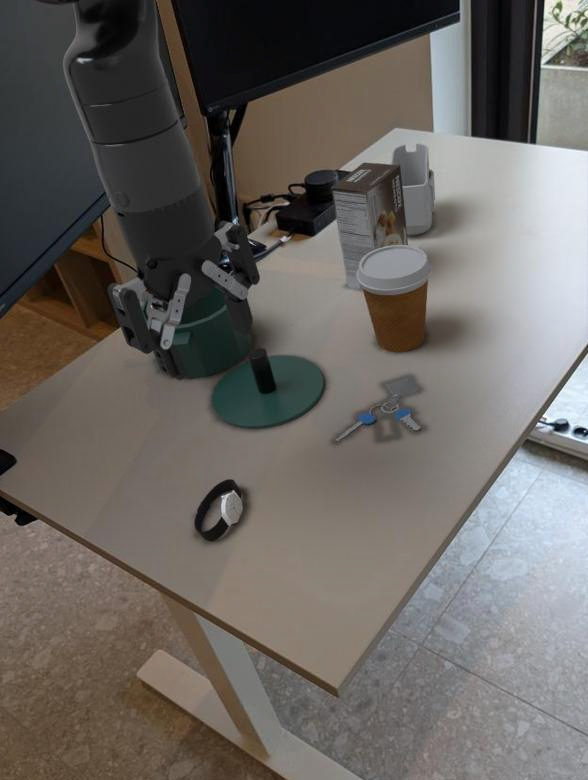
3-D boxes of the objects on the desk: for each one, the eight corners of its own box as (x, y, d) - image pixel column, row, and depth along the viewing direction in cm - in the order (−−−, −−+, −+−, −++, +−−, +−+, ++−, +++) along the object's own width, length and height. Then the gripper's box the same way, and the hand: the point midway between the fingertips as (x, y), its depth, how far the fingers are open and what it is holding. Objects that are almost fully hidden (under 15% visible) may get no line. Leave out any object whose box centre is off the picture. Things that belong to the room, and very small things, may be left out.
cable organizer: (396, 246, 113) (388, 173, 105) (399, 213, 122) (393, 143, 113) (436, 243, 112) (432, 168, 104) (437, 210, 121) (433, 139, 112)
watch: (230, 547, 71) (220, 524, 68) (189, 543, 72) (178, 521, 70) (253, 493, 76) (245, 470, 74) (214, 491, 77) (205, 468, 75)
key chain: (396, 377, 88) (395, 371, 87) (453, 393, 84) (452, 387, 83) (334, 443, 80) (333, 438, 80) (394, 464, 76) (393, 459, 76)
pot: (148, 399, 92) (124, 346, 86) (170, 323, 105) (151, 273, 99) (246, 386, 91) (229, 332, 85) (256, 311, 104) (242, 260, 98)
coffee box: (376, 262, 110) (364, 160, 99) (411, 268, 107) (402, 164, 96) (346, 290, 105) (329, 186, 94) (382, 297, 102) (368, 191, 91)
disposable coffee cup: (354, 341, 95) (340, 262, 86) (409, 315, 98) (402, 235, 89) (392, 372, 89) (382, 289, 80) (450, 343, 92) (446, 260, 83)
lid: (207, 439, 84) (191, 397, 79) (220, 369, 94) (206, 328, 90) (324, 424, 83) (315, 381, 78) (324, 355, 94) (316, 313, 89)
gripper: (192, 148, 60) (239, 308, 72) (55, 214, 54) (131, 380, 65) (248, 160, 57) (289, 328, 68) (108, 233, 50) (179, 405, 61)
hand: (211, 353), depth 66 cm, fingers open, 8 cm apart
